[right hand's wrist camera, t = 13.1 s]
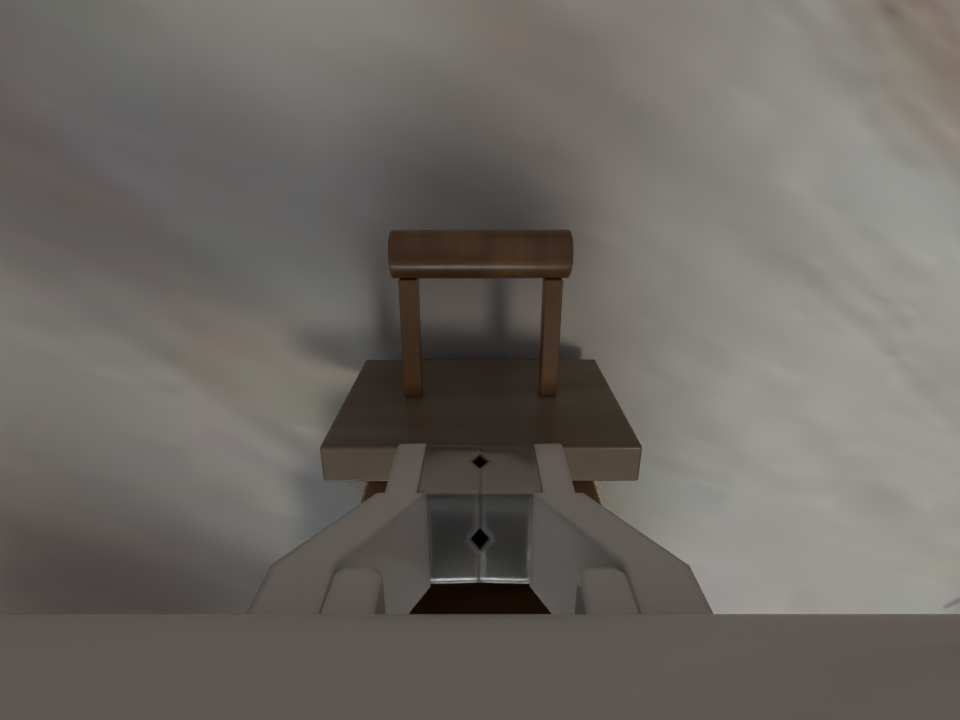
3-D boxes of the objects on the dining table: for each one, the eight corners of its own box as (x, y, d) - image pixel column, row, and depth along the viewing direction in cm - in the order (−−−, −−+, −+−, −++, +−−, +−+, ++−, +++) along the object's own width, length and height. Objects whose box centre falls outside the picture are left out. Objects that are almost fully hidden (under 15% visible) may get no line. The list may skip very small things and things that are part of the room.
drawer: (354, 217, 20) (294, 251, 14) (606, 217, 20) (667, 250, 14) (384, 581, 26) (354, 723, 20) (576, 581, 26) (608, 722, 20)
